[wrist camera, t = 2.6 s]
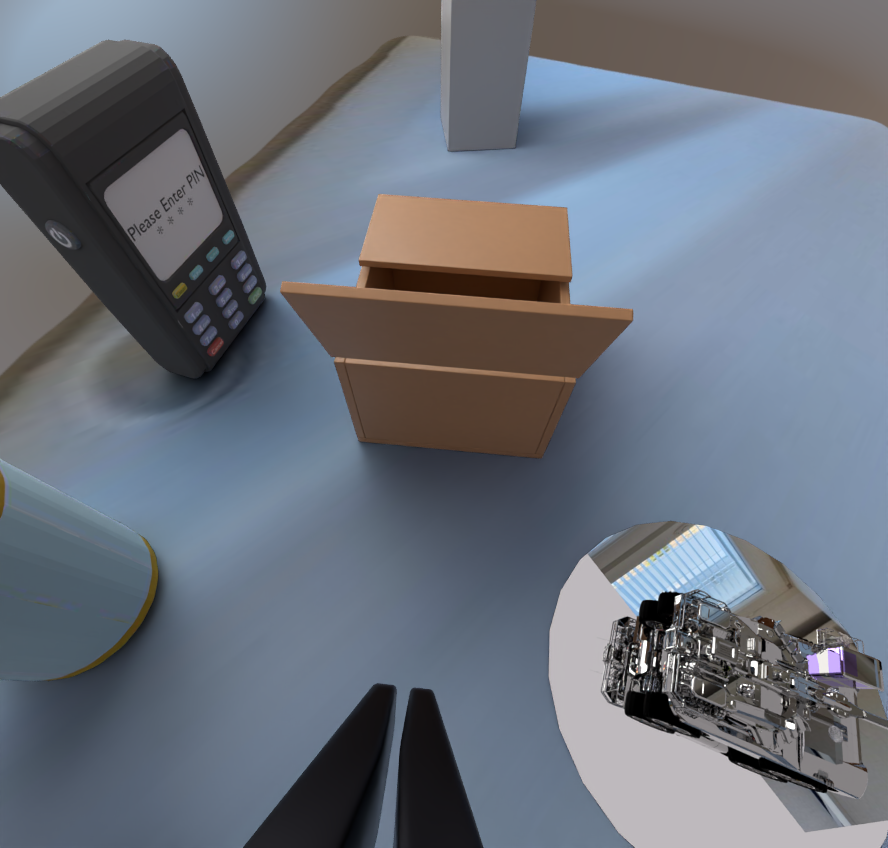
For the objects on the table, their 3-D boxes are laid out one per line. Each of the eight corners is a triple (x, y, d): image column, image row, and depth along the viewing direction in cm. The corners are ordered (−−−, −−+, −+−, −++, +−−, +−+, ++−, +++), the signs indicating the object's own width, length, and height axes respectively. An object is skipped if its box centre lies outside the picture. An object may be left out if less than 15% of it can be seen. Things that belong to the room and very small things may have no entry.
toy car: (921, 1005, 15) (1131, 1141, 11) (507, 798, 18) (532, 835, 13) (875, 585, 23) (987, 557, 18) (586, 483, 25) (619, 437, 21)
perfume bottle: (440, 117, 47) (442, -161, 32) (502, 115, 48) (534, -160, 32) (448, 151, 44) (454, -143, 28) (515, 148, 44) (556, -143, 29)
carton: (541, 458, 26) (581, 371, 19) (358, 441, 26) (329, 350, 19) (539, 313, 32) (568, 206, 25) (390, 301, 33) (377, 192, 26)
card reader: (208, 390, 28) (20, 140, 15) (155, 374, 29) (-70, 121, 16) (278, 295, 33) (177, 41, 20) (231, 283, 33) (103, 29, 21)
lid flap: (579, 370, 19) (579, 378, 19) (332, 348, 20) (330, 357, 19) (634, 308, 13) (633, 320, 13) (281, 280, 14) (279, 292, 14)
